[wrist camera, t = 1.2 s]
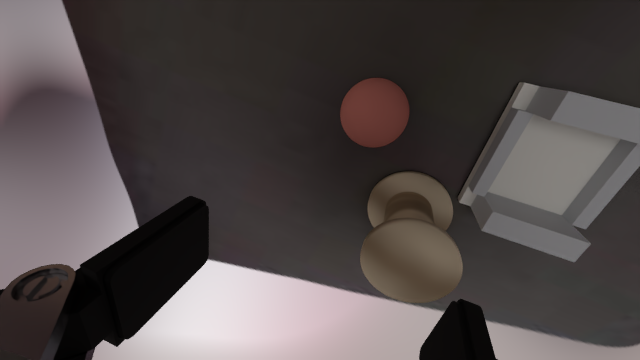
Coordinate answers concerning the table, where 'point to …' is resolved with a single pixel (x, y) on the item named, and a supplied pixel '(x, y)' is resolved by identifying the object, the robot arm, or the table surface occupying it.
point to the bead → (374, 112)
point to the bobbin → (411, 239)
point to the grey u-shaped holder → (552, 168)
